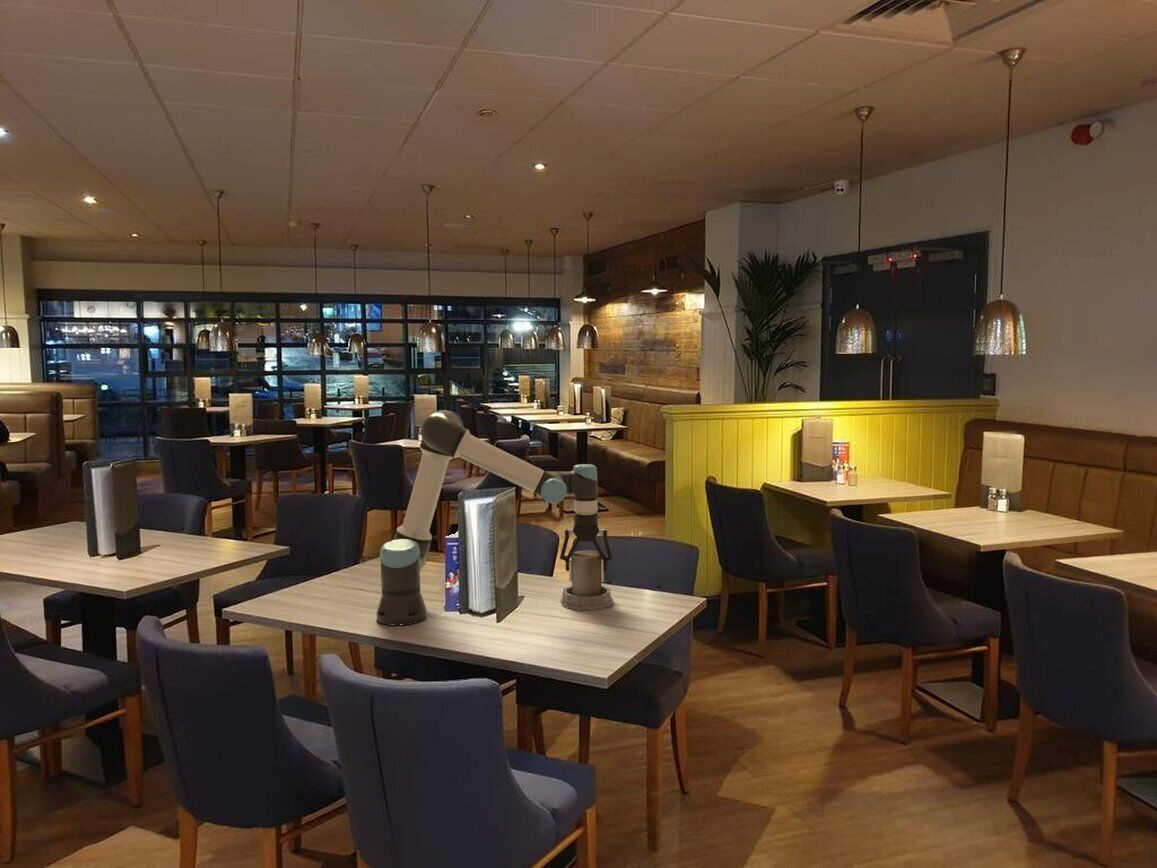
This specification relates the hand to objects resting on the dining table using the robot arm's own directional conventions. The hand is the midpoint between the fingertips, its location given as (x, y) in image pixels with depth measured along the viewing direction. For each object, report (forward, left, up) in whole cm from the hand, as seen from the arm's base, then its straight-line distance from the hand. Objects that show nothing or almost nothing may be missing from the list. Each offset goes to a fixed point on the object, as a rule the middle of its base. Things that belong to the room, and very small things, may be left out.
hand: (586, 580), depth 273 cm
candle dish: (0, 0, -7) cm, 7 cm away
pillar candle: (0, 0, -5) cm, 5 cm away
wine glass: (+27, +46, -7) cm, 54 cm away
